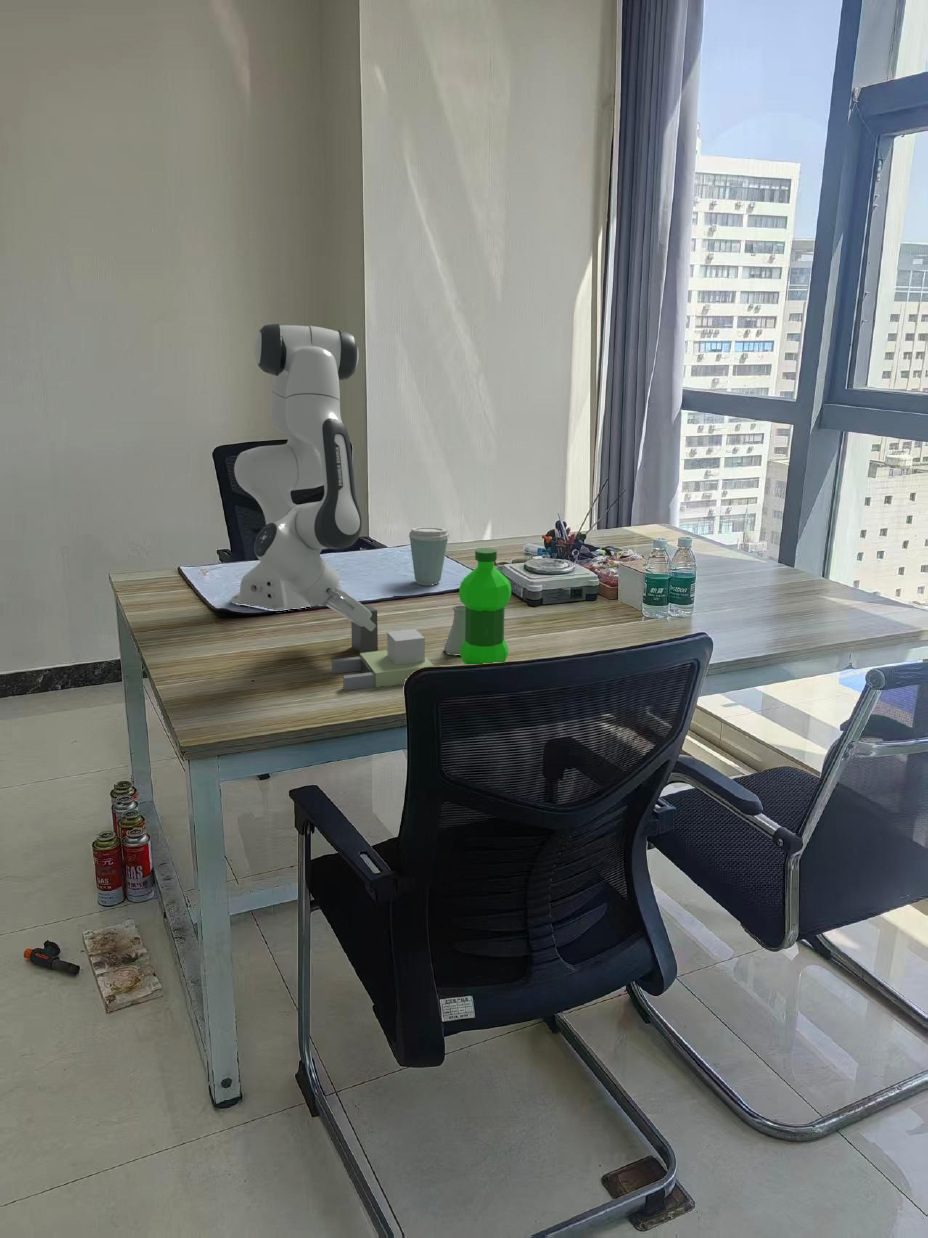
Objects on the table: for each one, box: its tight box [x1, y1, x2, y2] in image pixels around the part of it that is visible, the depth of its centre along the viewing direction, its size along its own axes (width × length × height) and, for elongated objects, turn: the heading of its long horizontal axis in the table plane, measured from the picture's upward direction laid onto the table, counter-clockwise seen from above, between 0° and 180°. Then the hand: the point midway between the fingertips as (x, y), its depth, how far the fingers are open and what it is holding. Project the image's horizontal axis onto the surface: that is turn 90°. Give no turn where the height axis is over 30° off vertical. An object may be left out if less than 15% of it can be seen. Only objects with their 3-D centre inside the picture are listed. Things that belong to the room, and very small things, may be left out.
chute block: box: [350, 604, 379, 654], centre depth 211 cm, size 4×4×9 cm
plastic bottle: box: [458, 547, 512, 665], centre depth 197 cm, size 10×10×25 cm
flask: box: [443, 604, 466, 654], centre depth 210 cm, size 7×7×10 cm
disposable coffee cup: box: [408, 526, 450, 586], centre depth 261 cm, size 11×11×15 cm
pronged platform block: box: [331, 628, 435, 691], centre depth 196 cm, size 18×12×8 cm, turn 111°
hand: (362, 622), depth 211 cm, fingers open, 8 cm apart
